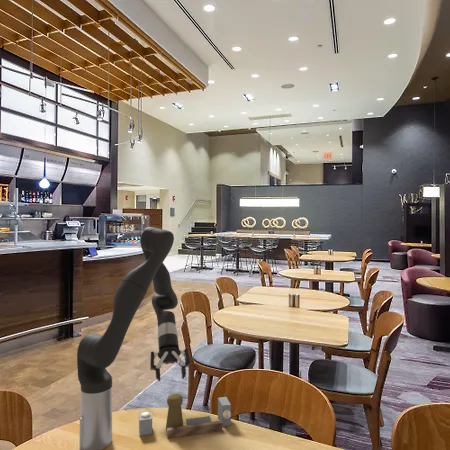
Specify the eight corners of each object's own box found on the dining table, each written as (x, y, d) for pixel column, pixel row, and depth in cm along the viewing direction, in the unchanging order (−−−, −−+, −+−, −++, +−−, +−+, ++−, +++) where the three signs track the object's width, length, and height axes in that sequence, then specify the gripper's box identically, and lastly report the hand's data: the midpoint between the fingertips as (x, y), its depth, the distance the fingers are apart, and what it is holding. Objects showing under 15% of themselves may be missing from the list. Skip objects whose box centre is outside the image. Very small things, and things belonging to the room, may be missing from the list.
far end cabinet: (222, 427, 123) (222, 406, 123) (217, 417, 129) (217, 397, 129) (231, 426, 124) (231, 405, 124) (226, 416, 130) (226, 396, 130)
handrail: (167, 438, 116) (167, 430, 116) (166, 435, 118) (167, 428, 118) (222, 430, 121) (222, 422, 121) (221, 428, 123) (221, 420, 123)
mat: (189, 433, 119) (189, 432, 119) (185, 420, 128) (185, 419, 128) (214, 429, 122) (214, 428, 122) (209, 417, 130) (209, 415, 130)
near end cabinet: (139, 435, 118) (139, 418, 118) (138, 427, 123) (138, 411, 123) (152, 434, 119) (152, 417, 119) (151, 426, 124) (151, 409, 124)
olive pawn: (184, 423, 125) (184, 391, 125) (183, 433, 119) (183, 399, 119) (166, 423, 125) (166, 391, 125) (164, 433, 119) (164, 399, 119)
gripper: (149, 333, 138) (151, 376, 127) (187, 331, 141) (192, 372, 130) (148, 343, 143) (150, 385, 132) (185, 340, 147) (190, 381, 135)
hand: (171, 379), depth 131 cm, fingers open, 8 cm apart
